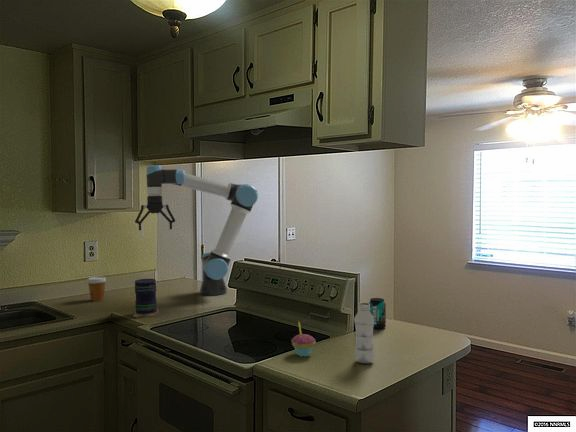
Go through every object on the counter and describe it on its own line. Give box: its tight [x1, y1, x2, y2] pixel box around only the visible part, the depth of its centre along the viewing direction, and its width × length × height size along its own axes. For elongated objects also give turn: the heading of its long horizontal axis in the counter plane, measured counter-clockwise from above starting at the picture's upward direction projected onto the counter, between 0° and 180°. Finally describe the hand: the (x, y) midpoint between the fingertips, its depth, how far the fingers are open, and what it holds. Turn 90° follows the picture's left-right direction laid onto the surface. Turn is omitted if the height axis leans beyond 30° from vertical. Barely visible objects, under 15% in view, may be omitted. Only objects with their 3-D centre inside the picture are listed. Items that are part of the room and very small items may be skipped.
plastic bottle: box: [354, 302, 376, 365], centre depth 168 cm, size 6×7×20 cm
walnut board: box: [132, 308, 160, 318], centre depth 236 cm, size 11×10×1 cm
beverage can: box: [368, 297, 387, 330], centre depth 209 cm, size 7×7×12 cm
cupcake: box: [290, 320, 317, 357], centre depth 177 cm, size 9×8×12 cm
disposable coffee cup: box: [86, 276, 107, 302], centre depth 267 cm, size 10×10×12 cm
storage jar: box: [134, 278, 158, 314], centre depth 236 cm, size 10×10×15 cm
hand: (155, 236), depth 260 cm, fingers open, 13 cm apart
